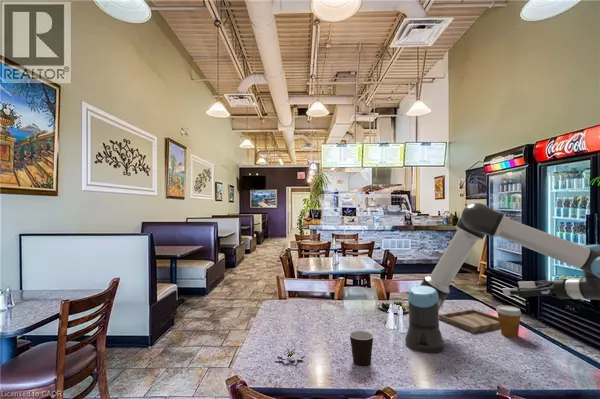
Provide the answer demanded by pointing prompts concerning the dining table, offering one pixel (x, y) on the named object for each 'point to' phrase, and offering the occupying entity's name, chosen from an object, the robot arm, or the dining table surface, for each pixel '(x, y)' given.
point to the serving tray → (471, 320)
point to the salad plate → (386, 306)
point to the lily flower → (291, 352)
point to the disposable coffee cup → (509, 320)
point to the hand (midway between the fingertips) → (511, 288)
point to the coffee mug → (361, 347)
